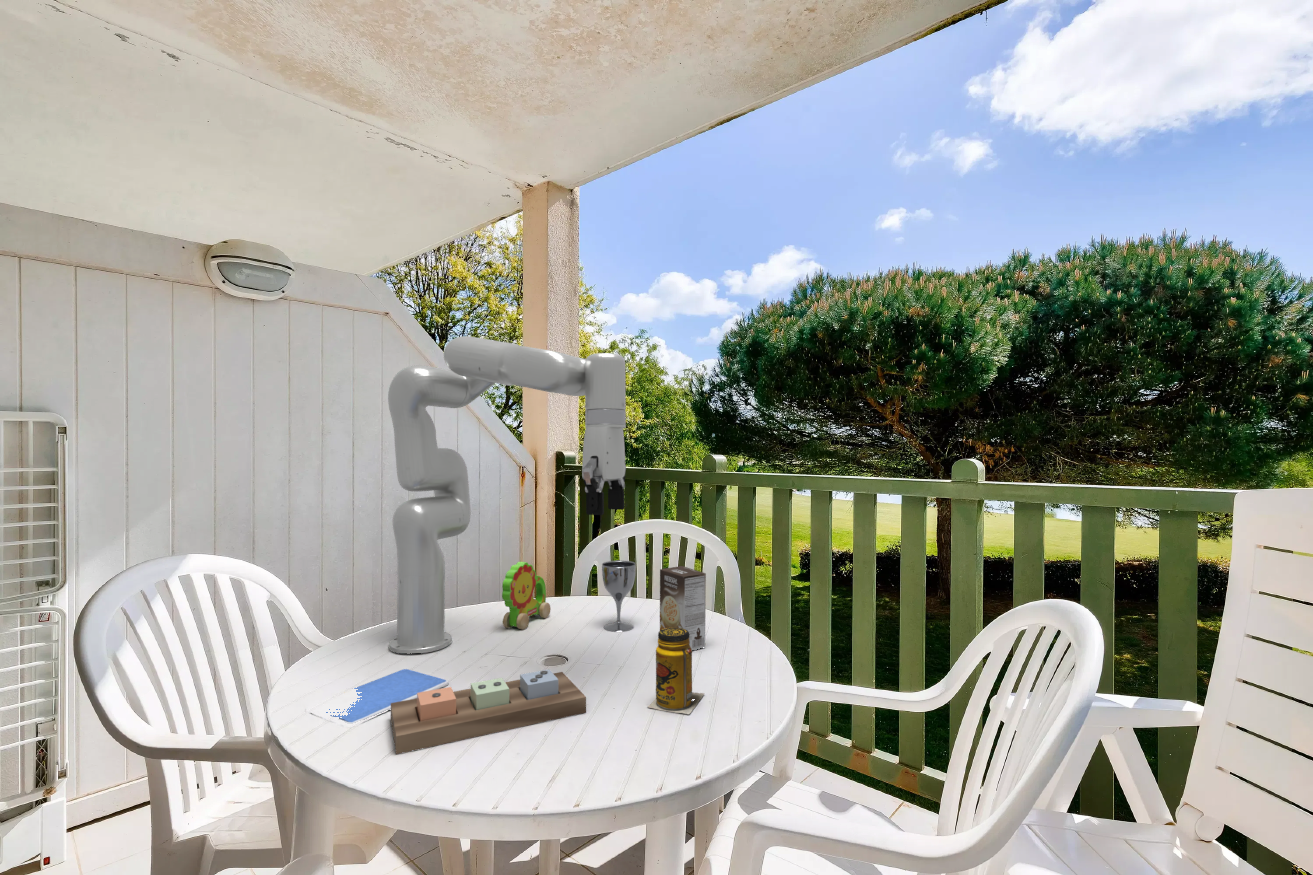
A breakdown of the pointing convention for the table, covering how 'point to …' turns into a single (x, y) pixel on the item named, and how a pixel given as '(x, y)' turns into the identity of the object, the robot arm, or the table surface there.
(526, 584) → the green wooden toy car
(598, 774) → the table surface
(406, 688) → the blue rectangular pad
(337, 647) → the table surface
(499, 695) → the button two dots
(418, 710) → the button one dot
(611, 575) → the wine glass
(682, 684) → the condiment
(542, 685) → the button three dots
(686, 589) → the coffee box
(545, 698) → the button board
